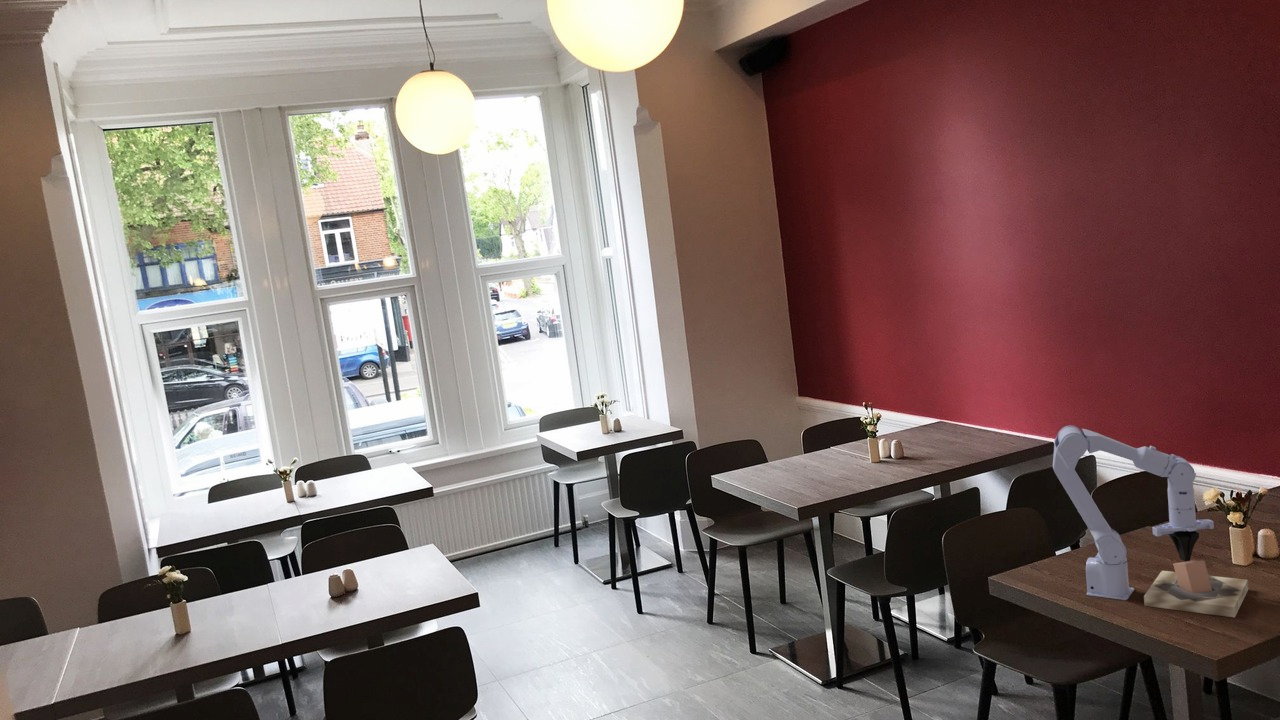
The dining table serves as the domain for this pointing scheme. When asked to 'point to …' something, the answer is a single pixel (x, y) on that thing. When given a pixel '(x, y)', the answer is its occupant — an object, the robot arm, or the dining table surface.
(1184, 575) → the peg
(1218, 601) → the socket board
